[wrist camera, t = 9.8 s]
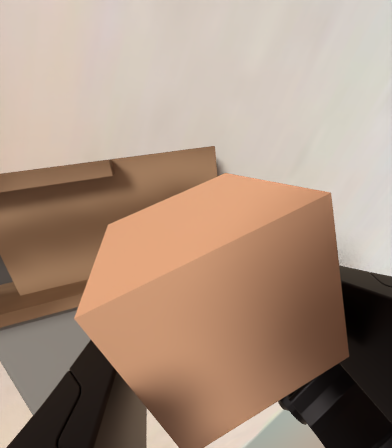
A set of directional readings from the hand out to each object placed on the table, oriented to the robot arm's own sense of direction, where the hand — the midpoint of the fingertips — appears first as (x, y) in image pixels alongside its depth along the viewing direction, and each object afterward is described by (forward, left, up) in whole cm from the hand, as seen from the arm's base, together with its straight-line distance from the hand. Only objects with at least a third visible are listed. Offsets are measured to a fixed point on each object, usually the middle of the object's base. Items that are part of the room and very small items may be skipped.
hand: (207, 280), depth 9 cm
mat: (-14, +11, -13) cm, 22 cm away
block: (+1, 0, -1) cm, 1 cm away
